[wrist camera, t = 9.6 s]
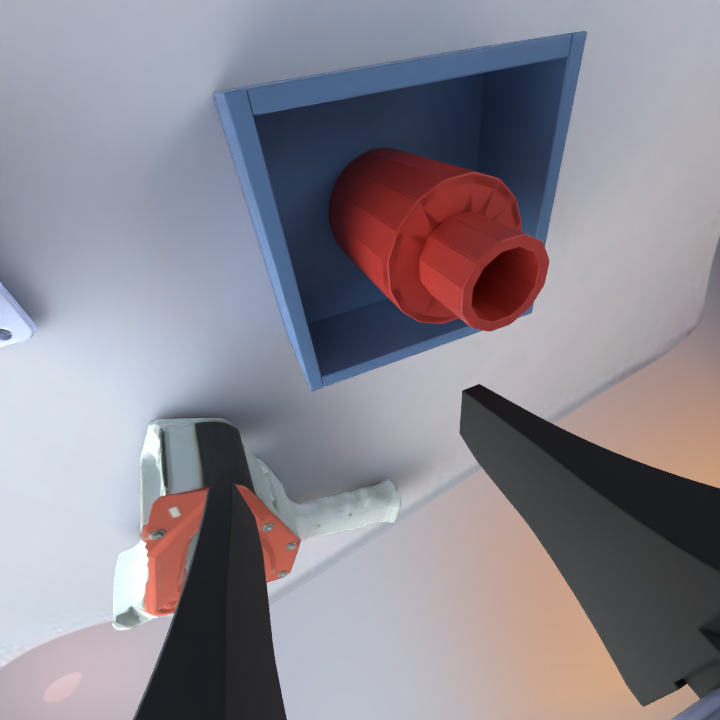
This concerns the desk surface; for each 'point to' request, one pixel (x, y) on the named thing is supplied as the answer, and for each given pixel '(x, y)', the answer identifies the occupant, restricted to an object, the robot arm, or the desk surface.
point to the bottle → (437, 239)
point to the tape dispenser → (186, 503)
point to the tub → (401, 132)
